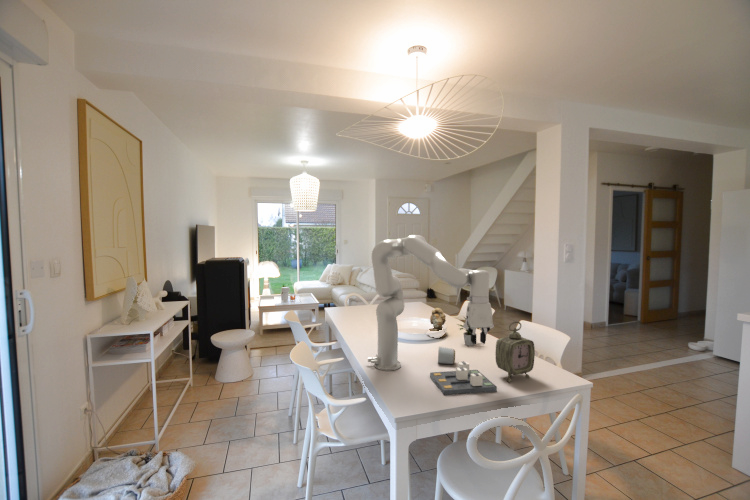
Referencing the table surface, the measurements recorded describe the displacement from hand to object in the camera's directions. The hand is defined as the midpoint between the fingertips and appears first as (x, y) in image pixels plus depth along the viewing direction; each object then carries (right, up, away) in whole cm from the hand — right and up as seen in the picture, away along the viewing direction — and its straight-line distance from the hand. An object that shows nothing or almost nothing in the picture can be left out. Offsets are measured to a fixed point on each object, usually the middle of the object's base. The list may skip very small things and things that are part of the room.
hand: (478, 342), depth 139 cm
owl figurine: (-5, -15, +69) cm, 71 cm away
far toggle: (-4, -15, +6) cm, 16 cm away
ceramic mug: (-9, -16, +24) cm, 30 cm away
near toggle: (-3, -15, -6) cm, 16 cm away
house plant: (+11, -15, +52) cm, 55 cm away
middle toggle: (-7, -15, 0) cm, 16 cm away
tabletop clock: (+17, -17, +6) cm, 25 cm away
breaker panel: (-7, -17, 0) cm, 19 cm away
